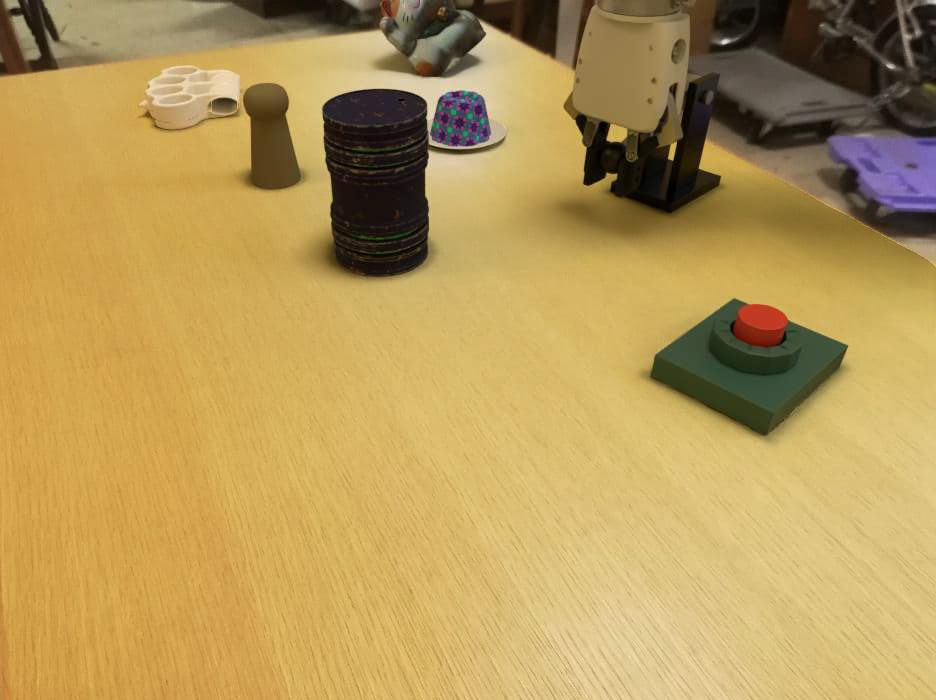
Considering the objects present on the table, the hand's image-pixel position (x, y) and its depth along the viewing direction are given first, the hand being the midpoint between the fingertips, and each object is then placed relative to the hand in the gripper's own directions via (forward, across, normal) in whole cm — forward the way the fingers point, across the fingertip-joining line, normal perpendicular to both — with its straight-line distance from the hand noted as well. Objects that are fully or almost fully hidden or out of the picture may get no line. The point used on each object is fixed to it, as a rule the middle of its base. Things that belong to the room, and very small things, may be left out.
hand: (609, 185), depth 82 cm
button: (0, -24, +14) cm, 28 cm away
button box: (+4, -24, +14) cm, 28 cm away
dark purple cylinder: (+4, +12, +22) cm, 25 cm away
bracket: (+4, 0, -11) cm, 12 cm away
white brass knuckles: (+5, +65, +12) cm, 66 cm away
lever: (-4, 0, -6) cm, 7 cm away
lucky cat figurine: (+4, +53, -26) cm, 59 cm away
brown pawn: (+5, +35, +18) cm, 40 cm away
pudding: (+4, +28, -7) cm, 29 cm away
